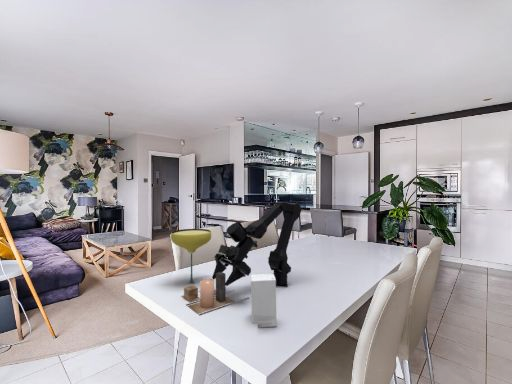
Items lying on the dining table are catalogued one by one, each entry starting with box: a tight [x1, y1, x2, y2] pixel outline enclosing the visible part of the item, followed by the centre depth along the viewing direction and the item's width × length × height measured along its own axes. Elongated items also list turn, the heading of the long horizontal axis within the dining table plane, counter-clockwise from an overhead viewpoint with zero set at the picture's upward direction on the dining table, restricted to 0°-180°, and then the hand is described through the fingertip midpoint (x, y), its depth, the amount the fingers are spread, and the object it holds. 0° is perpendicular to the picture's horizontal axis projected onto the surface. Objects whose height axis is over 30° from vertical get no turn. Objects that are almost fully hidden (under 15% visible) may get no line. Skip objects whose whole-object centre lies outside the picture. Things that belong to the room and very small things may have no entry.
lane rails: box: [185, 289, 250, 317], centre depth 101 cm, size 22×11×1 cm, turn 130°
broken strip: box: [180, 289, 216, 304], centre depth 107 cm, size 14×8×1 cm, turn 130°
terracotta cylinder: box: [199, 278, 215, 308], centre depth 98 cm, size 5×5×9 cm
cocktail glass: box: [170, 228, 212, 285], centre depth 121 cm, size 18×18×25 cm
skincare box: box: [250, 273, 277, 328], centre depth 88 cm, size 8×7×16 cm
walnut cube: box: [183, 284, 199, 302], centre depth 105 cm, size 4×4×4 cm
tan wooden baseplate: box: [187, 271, 236, 315], centre depth 99 cm, size 16×8×12 cm, turn 130°
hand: (219, 281), depth 101 cm, fingers open, 9 cm apart
